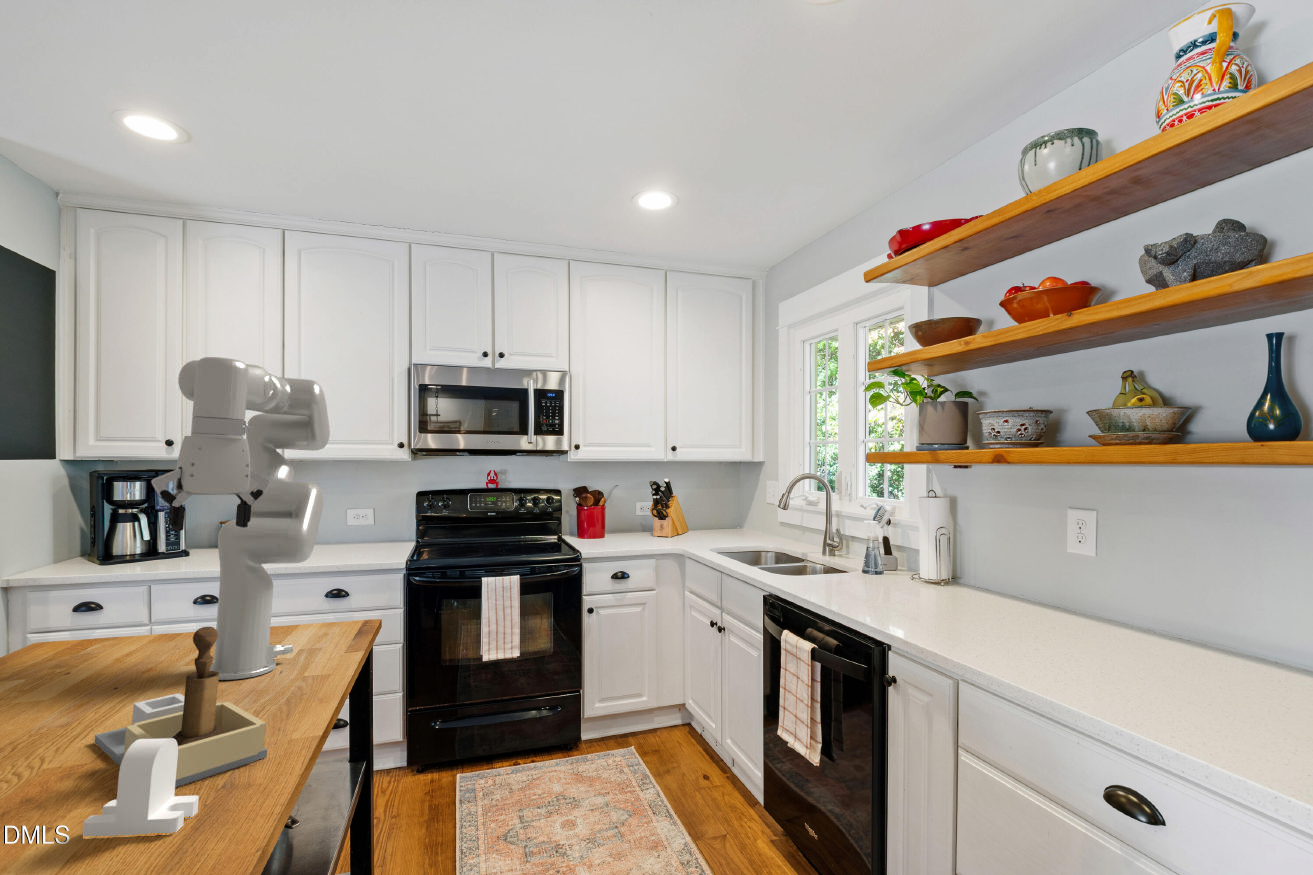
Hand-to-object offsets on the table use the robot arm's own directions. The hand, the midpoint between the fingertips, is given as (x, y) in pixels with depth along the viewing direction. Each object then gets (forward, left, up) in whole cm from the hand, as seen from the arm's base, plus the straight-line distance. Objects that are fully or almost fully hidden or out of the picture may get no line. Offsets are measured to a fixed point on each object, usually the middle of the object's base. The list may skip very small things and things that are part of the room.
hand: (210, 528), depth 108 cm
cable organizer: (+16, +31, -32) cm, 47 cm away
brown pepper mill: (+6, +17, -31) cm, 36 cm away
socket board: (+6, +12, -32) cm, 35 cm away
